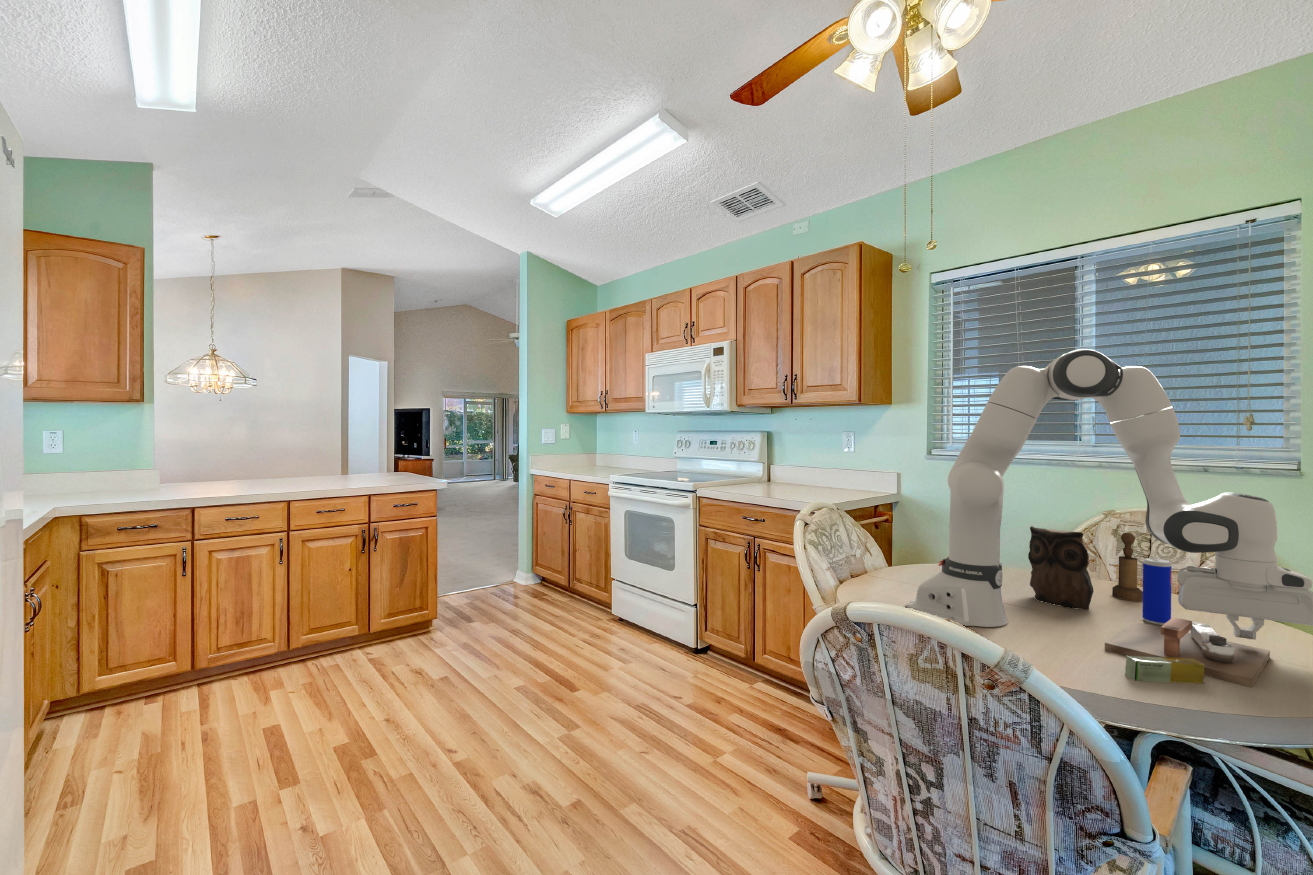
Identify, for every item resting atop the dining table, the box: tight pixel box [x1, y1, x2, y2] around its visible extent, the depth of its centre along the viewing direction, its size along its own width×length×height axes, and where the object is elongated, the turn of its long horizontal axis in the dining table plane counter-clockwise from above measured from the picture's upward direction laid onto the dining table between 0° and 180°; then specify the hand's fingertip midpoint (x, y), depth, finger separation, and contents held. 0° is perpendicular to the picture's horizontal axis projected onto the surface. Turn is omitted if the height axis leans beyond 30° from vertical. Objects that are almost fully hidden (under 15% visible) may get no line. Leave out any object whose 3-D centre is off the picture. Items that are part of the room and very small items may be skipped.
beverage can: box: [1141, 557, 1173, 626], centre depth 135 cm, size 5×5×15 cm
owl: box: [1027, 525, 1094, 611], centre depth 151 cm, size 13×13×20 cm
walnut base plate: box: [1104, 616, 1271, 688], centre depth 116 cm, size 22×22×7 cm
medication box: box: [1124, 655, 1205, 684], centre depth 104 cm, size 12×3×4 cm, turn 84°
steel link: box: [1190, 621, 1234, 661], centre depth 115 cm, size 17×4×2 cm, turn 147°
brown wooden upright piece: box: [1111, 532, 1143, 602], centre depth 154 cm, size 7×6×18 cm
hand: (1244, 637), depth 116 cm, fingers closed
